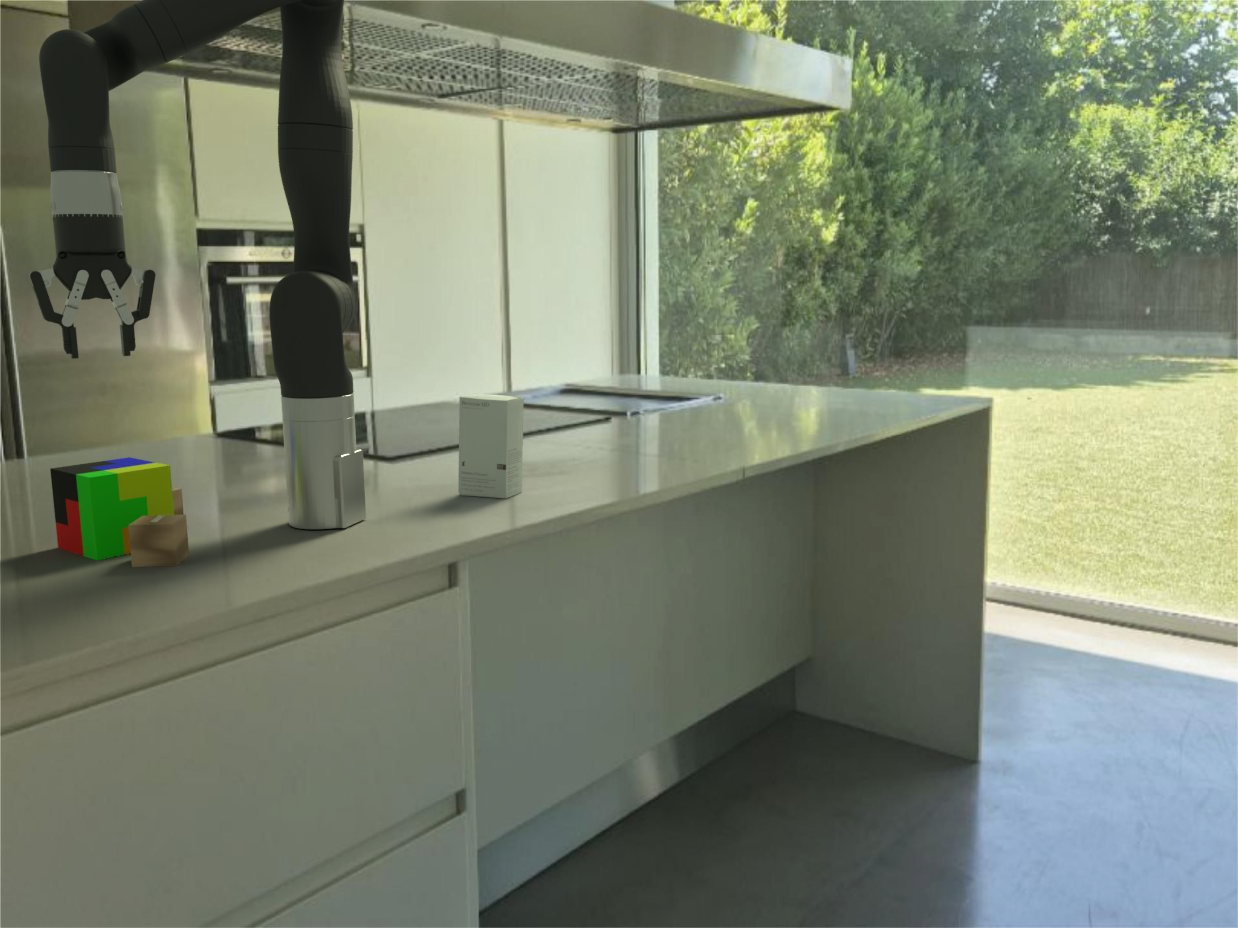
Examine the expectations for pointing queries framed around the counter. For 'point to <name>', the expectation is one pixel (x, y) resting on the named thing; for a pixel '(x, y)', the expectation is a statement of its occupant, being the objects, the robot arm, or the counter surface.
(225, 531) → the counter surface
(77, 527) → the puzzle toy
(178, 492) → the two bar block
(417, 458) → the counter surface
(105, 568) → the counter surface
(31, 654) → the counter surface
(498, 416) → the skincare box
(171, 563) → the one bar block
